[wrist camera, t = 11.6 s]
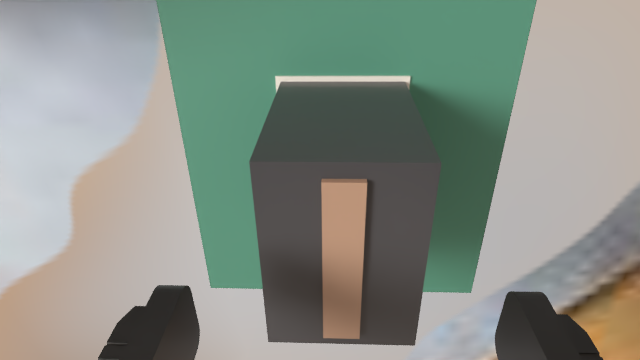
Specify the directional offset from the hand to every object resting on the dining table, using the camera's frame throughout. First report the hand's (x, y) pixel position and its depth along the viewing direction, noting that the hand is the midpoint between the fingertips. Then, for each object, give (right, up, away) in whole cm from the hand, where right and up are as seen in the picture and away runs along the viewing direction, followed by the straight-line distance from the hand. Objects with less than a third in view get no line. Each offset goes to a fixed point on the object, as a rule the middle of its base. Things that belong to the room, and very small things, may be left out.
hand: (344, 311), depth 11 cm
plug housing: (0, +4, +8) cm, 9 cm away
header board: (0, +5, +9) cm, 11 cm away
